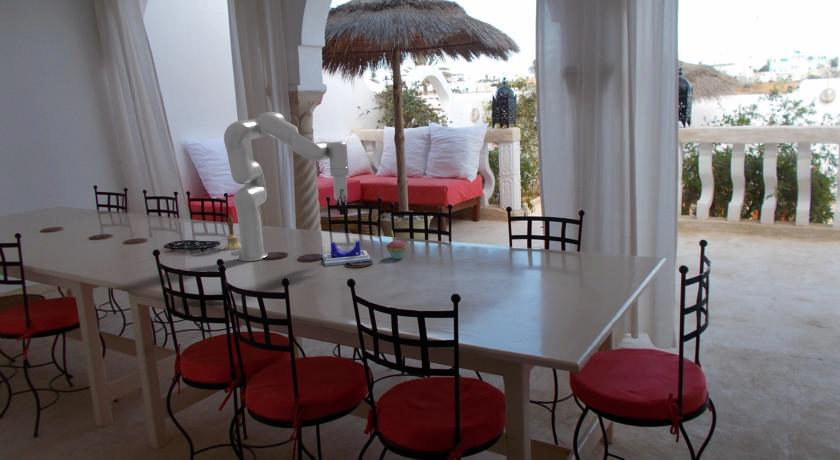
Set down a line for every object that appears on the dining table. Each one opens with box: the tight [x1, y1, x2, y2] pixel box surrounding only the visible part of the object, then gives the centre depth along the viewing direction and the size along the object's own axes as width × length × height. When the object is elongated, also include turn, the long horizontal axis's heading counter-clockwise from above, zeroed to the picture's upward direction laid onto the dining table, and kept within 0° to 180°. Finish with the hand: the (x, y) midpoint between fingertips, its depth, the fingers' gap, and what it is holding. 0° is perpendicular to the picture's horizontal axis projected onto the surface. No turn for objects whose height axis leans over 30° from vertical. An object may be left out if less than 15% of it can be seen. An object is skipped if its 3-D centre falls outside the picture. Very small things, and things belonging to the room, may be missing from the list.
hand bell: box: [224, 214, 241, 251], centre depth 305 cm, size 8×8×16 cm
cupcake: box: [386, 230, 407, 260], centre depth 271 cm, size 9×8×12 cm
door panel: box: [321, 249, 372, 267], centre depth 273 cm, size 19×16×2 cm
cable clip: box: [330, 240, 361, 258], centre depth 273 cm, size 12×4×6 cm, turn 90°
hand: (342, 212), depth 269 cm, fingers open, 9 cm apart
